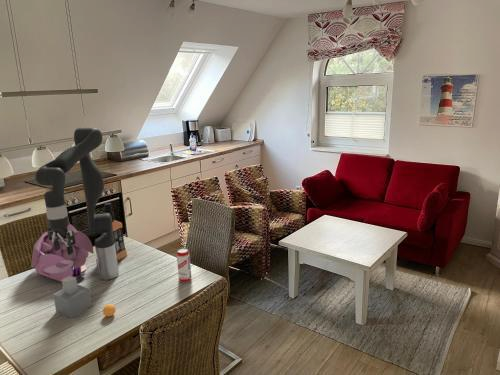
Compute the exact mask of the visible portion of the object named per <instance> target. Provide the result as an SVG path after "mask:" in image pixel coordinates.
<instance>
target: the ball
mask: <svg viewBox="0 0 500 375" xmlns="http://www.w3.org/2000/svg"><path fill="white" fill-rule="evenodd" d="M116 310H117V309H116V306H115V305H113V304H112V303H111V304H110V303H108V304H106V305H105V306H104V307H103V309H102V312H103V316H106V318H107V317H112V316H114V315H115V312H116Z"/></svg>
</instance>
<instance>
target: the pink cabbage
mask: <svg viewBox="0 0 500 375" xmlns="http://www.w3.org/2000/svg"><path fill="white" fill-rule="evenodd" d="M67 229H68V231H72V230H73V232H74V237H75V241H76V244H74V245H72V247H73V254H70V255H68V254H67V248H66V247H67V246H66V244H65V243H63V242H62V240H60V239H59V240H58V241H59V244H60V250H57V251H55V249H54V244H53V242H52V240H49V237H48V231H45V232H43V233H42V235H41V236H40V237H39V238H38V240H37V241H36V242H35V243H34V245H33V248H32V249H33V250H32V257H31V263H30V267H31V268H32V269H35V271H36V273H37V274H39V275H41V276H45V277H47V278H50V279H52V280H55V281H57V282H61V283H62V280H63V279H65V278H67V277H69V276H72V277H75V278H76V279H77V278H80V277H82V276H85V275H86V273H85V271H86V270H87V266H86V265H85V264H86V262H87V258H88V257H89V253H91V254H94V246H93V243H92V241H91V240H90V238H89V236H87V234H86V233H84V232H83V231H80V230H77V229H76V228H75V227H74V226H73V224H71V223H69V225H68V227H67ZM52 236H53V234H52V235H51V237H52ZM66 239H67V238H66ZM72 242H73V241H72ZM67 243H68V241H67Z"/></svg>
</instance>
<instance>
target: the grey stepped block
mask: <svg viewBox="0 0 500 375" xmlns="http://www.w3.org/2000/svg"><path fill="white" fill-rule="evenodd" d="M61 283H62V289H60V290H58V291H57V292H54V293H52V296H53V302H54V308H55V312H56V313H58V314H60V315H62V316H64V317H67V318H69V319H73V318H75V317H76V316H78V315H80V314H81V313H83V312H85V311H86V310H88V309H90V308H91V307H92V300H91V293H90V288H88V287H86V286H84V285H83V286H82V285H80V284H78V282H77V278H75V277H72V276H69V277H67V278H65V279H63V280H62V282H61Z"/></svg>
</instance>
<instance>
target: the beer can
mask: <svg viewBox="0 0 500 375" xmlns="http://www.w3.org/2000/svg"><path fill="white" fill-rule="evenodd" d="M176 262H177V263H176V264H177V275H178V281H179V282H180V283H183V284H184V283H188V282H190V281H191V280H192V266H191V254H190V251H189V249H188V248H187V247H183V248H179V249H177V252H176Z"/></svg>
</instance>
